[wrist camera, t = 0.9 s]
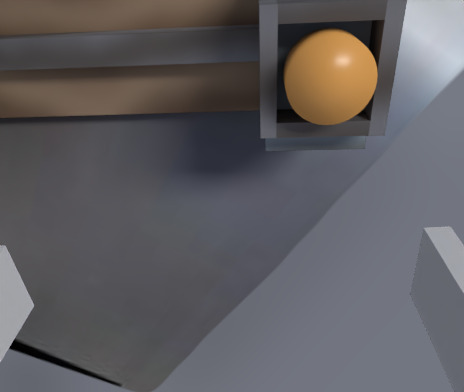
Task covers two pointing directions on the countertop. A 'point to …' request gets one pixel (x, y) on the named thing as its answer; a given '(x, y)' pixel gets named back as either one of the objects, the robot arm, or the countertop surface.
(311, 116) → the button
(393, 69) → the rail bench
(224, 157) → the countertop surface
